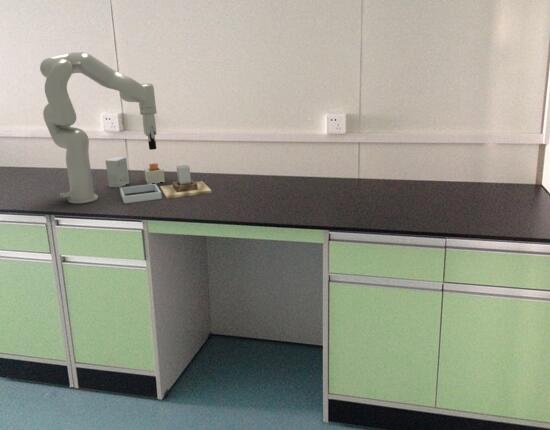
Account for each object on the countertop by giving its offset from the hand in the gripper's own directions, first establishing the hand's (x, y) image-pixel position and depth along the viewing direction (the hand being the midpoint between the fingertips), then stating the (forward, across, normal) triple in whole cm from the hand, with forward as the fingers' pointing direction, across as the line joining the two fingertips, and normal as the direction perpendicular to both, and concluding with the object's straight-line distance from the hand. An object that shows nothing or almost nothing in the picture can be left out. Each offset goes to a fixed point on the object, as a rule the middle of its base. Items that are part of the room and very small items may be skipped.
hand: (152, 149), depth 264 cm
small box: (+16, -1, -18) cm, 24 cm away
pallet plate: (+16, +24, +9) cm, 30 cm away
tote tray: (+15, +24, -11) cm, 31 cm away
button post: (+16, 0, -1) cm, 16 cm away
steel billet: (+15, +24, +9) cm, 30 cm away
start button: (+10, 0, -1) cm, 10 cm away
